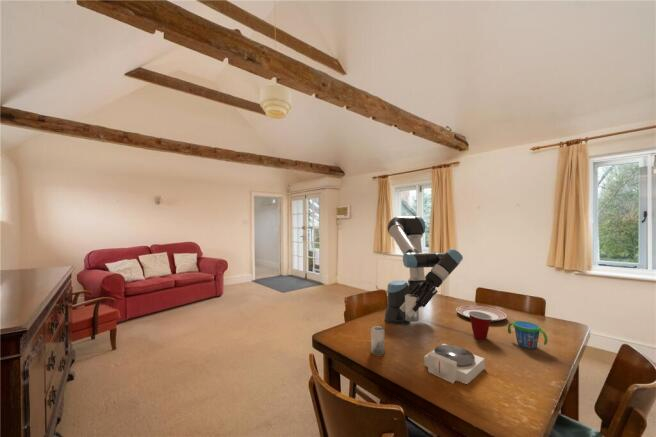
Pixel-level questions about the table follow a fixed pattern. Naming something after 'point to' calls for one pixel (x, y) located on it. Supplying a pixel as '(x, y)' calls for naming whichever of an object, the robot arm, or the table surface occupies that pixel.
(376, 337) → the cylinder
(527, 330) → the snack cup
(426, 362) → the scale
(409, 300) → the silver metal cylinder
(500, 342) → the table surface
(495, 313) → the dinner plate
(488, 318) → the plastic cup
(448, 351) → the scale pan
